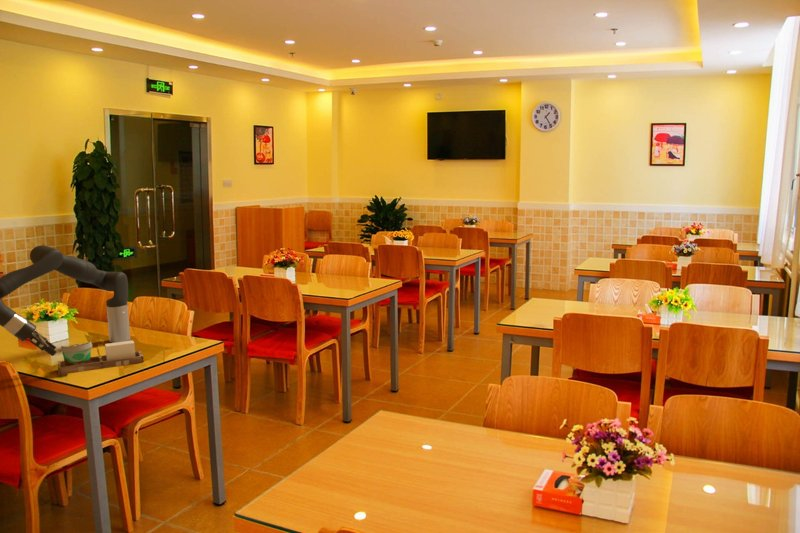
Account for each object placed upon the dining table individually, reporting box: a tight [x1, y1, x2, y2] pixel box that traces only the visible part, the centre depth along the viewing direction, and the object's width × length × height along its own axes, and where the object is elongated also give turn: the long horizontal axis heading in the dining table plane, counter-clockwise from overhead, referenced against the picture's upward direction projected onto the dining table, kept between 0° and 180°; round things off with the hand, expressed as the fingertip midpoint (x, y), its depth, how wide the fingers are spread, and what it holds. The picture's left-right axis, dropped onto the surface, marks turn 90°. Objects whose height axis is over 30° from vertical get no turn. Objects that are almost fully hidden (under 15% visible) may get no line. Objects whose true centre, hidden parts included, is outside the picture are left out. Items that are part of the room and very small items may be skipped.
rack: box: [57, 350, 145, 377], centre depth 284 cm, size 11×32×4 cm, turn 117°
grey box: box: [104, 340, 136, 361], centre depth 287 cm, size 5×11×8 cm, turn 117°
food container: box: [59, 340, 93, 366], centre depth 279 cm, size 12×6×10 cm, turn 136°
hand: (54, 351), depth 275 cm, fingers open, 8 cm apart
